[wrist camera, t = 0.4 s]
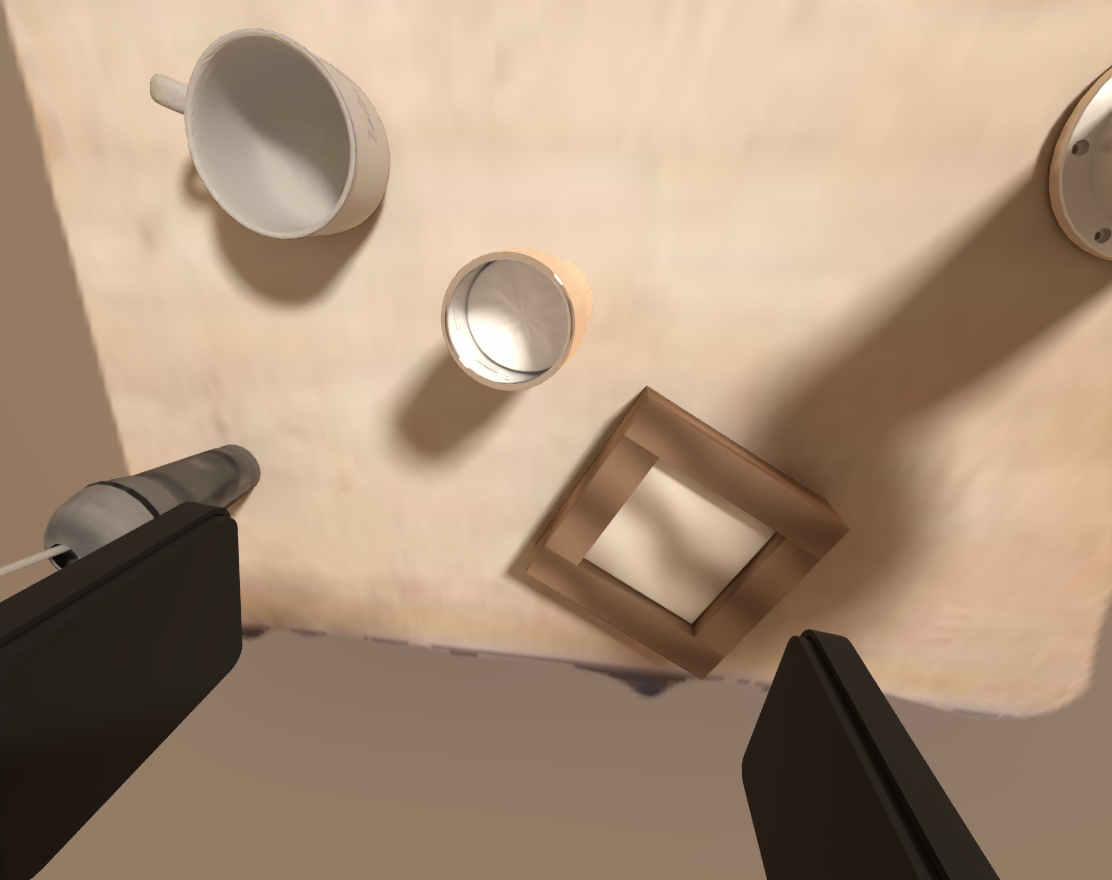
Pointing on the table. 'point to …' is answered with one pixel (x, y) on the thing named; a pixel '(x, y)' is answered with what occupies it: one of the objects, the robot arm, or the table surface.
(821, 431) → the table surface
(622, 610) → the frame
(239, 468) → the beverage cup
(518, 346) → the beer glass
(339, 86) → the teacup
